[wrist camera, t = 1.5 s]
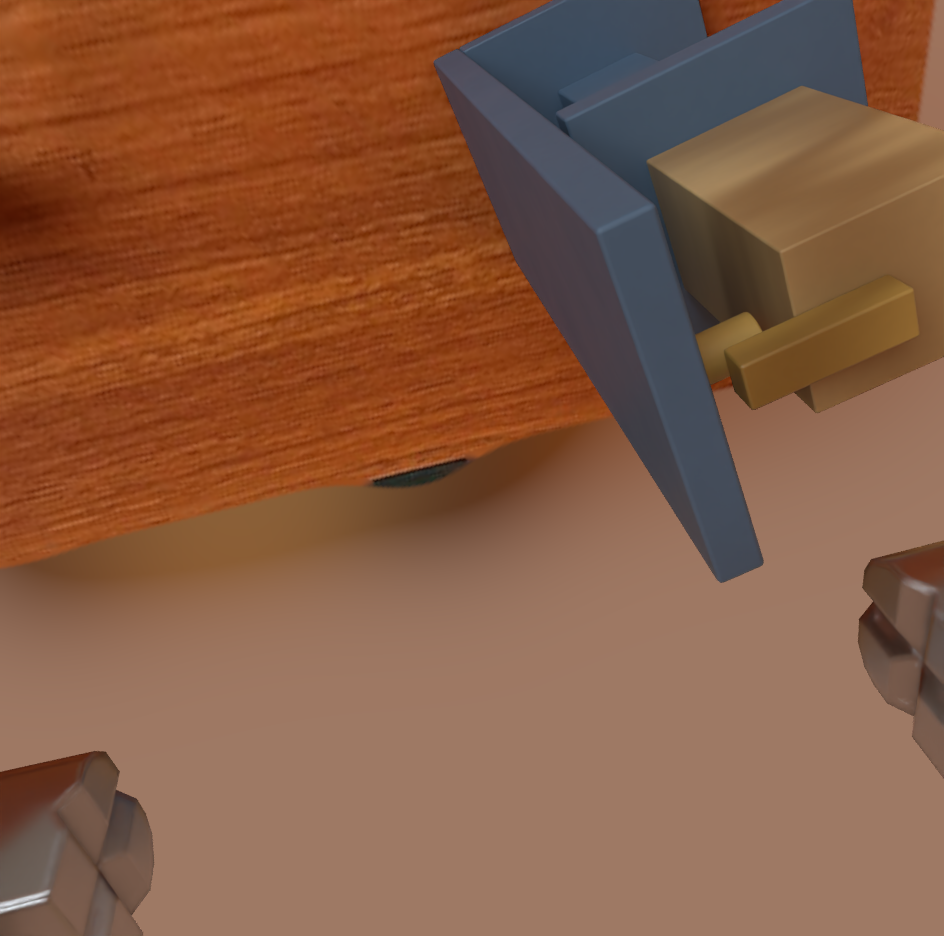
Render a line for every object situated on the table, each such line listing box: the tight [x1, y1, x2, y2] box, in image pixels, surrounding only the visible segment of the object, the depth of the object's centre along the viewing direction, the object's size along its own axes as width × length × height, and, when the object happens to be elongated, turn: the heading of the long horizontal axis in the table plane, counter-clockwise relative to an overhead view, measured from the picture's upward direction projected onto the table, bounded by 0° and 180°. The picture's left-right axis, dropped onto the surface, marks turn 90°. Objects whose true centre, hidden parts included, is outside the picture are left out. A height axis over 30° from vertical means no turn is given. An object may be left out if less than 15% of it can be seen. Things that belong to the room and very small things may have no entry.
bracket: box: [434, 0, 868, 583], centre depth 23 cm, size 9×8×20 cm
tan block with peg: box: [647, 86, 944, 413], centre depth 18 cm, size 5×4×8 cm, turn 113°
